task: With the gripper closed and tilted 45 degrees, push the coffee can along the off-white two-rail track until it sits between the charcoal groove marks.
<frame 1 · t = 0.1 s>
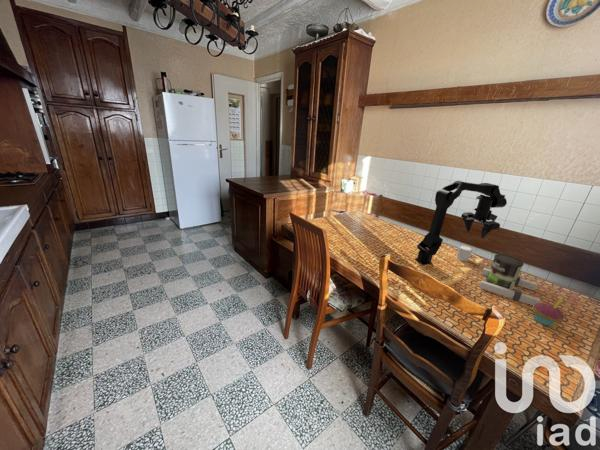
hand: (474, 234, 133), 15 cm above the table, tool pointing down, fingers open, 9 cm apart
guide track: (506, 288, 112), on the table
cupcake: (543, 322, 93), on the table
shot glass: (462, 259, 138), on the table
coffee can: (498, 286, 114), on the table
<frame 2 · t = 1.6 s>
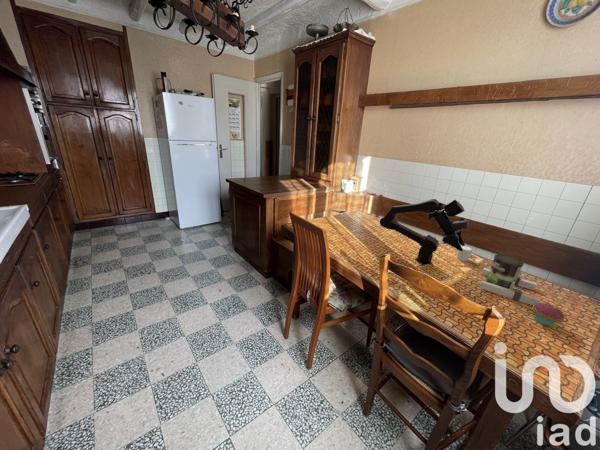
hand: (462, 248, 120), 13 cm above the table, tool tilted 45°, fingers open, 7 cm apart
nothing on the table moved.
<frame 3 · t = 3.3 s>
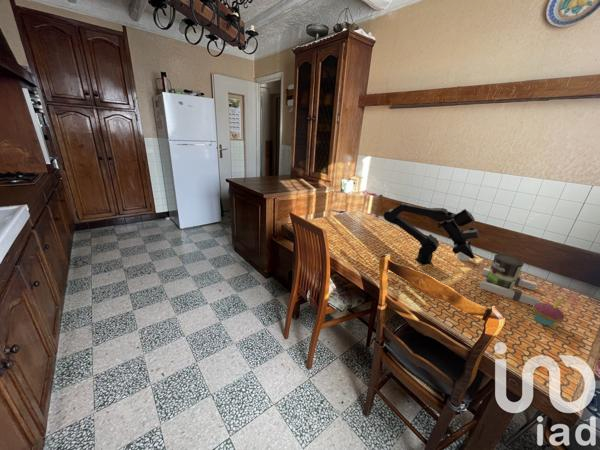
hand: (473, 258, 118), 10 cm above the table, tool tilted 45°, fingers closed
nothing on the table moved.
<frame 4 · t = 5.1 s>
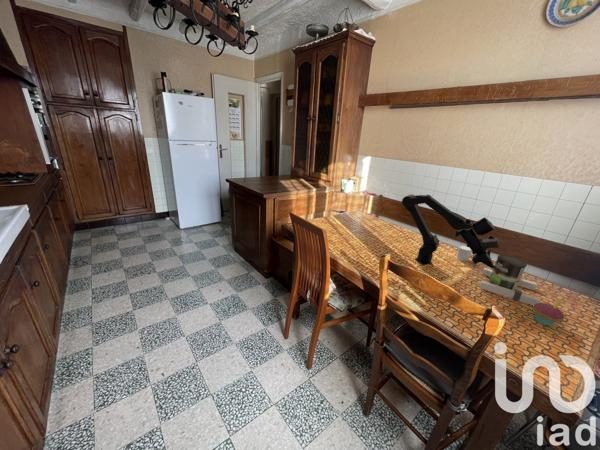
hand: (493, 267, 114), 8 cm above the table, tool tilted 45°, fingers closed, pressing on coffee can
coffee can: (501, 286, 114), on the table, touching gripper
everything else where it was.
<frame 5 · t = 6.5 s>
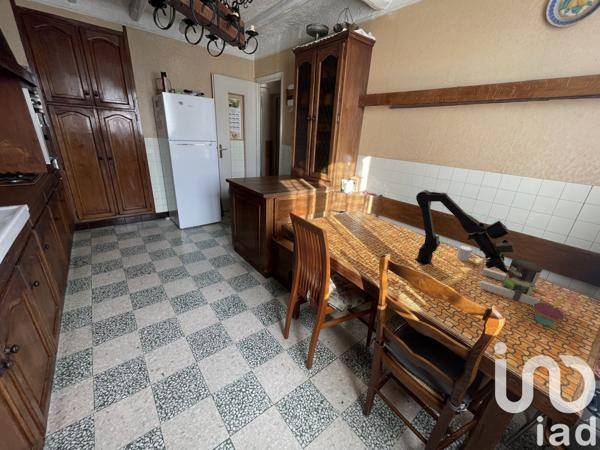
hand: (506, 272, 111), 8 cm above the table, tool tilted 45°, fingers closed
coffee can: (515, 291, 111), on the table, touching gripper
everything else where it was.
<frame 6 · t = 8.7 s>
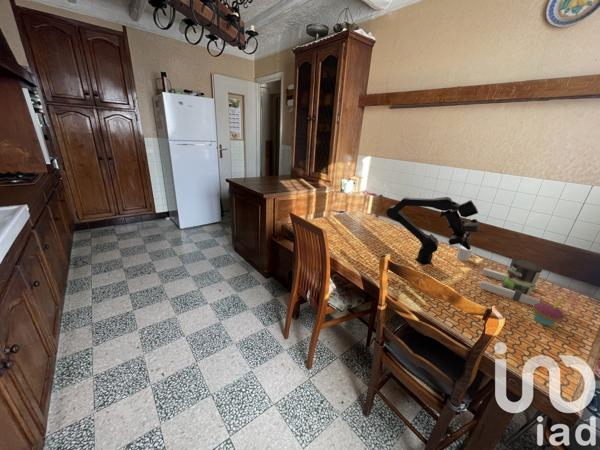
hand: (469, 249, 119), 13 cm above the table, tool tilted 35°, fingers closed
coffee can: (515, 291, 111), on the table
everything else where it was.
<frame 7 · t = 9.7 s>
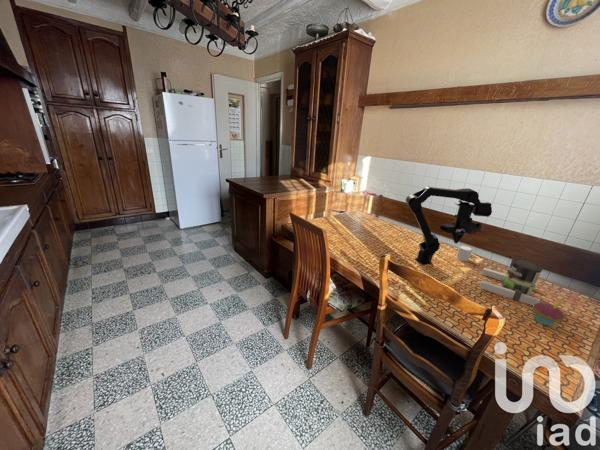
hand: (455, 243, 126), 13 cm above the table, tool pointing down, fingers closed
nothing on the table moved.
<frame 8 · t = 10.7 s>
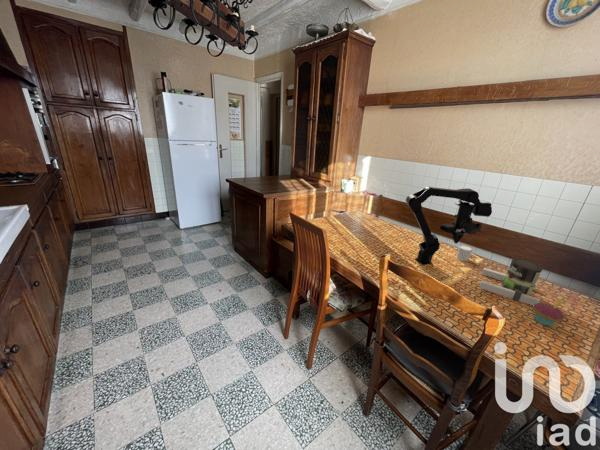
hand: (455, 243, 126), 13 cm above the table, tool pointing down, fingers closed
nothing on the table moved.
at the end: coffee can 0.2 cm from the target spot on the guide track, point 0.0 cm above the guide track's base; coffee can tilted 0°; the gripper is holding nothing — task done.
